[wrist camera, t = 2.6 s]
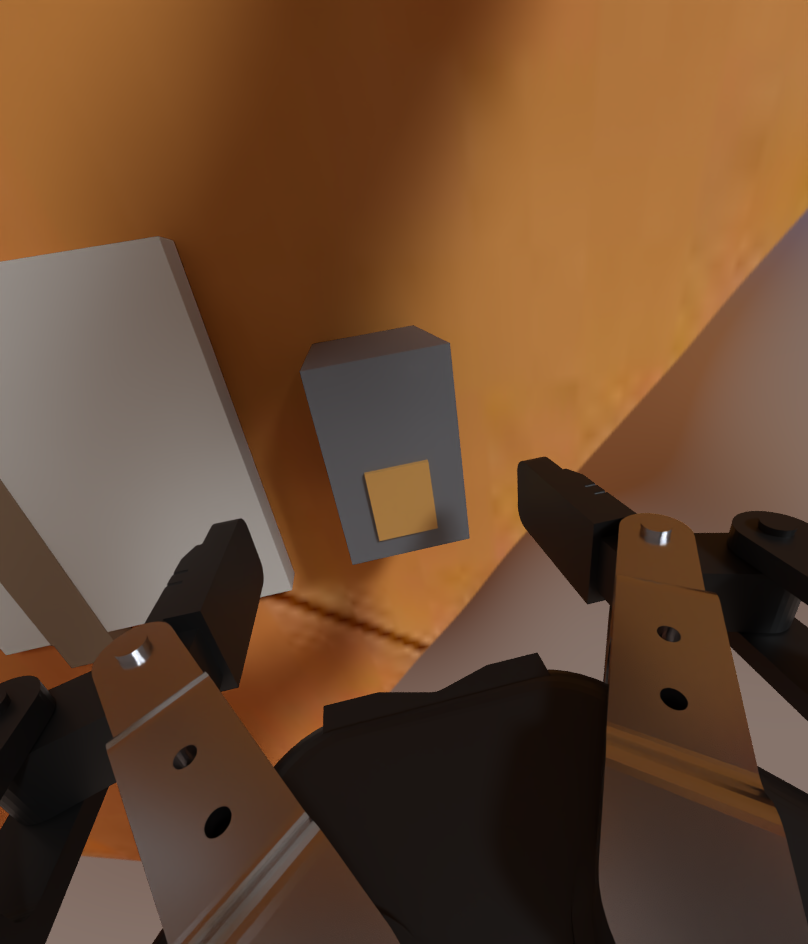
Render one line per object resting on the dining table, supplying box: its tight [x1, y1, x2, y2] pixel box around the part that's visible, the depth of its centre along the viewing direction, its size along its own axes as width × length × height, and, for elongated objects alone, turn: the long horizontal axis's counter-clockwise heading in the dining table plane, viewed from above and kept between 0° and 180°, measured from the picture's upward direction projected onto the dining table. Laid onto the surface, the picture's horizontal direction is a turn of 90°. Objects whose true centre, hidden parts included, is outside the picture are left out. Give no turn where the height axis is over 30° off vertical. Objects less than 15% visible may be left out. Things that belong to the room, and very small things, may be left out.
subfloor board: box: [0, 236, 295, 668], centre depth 19 cm, size 16×22×2 cm
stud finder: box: [300, 325, 469, 565], centre depth 18 cm, size 5×8×7 cm, turn 9°
